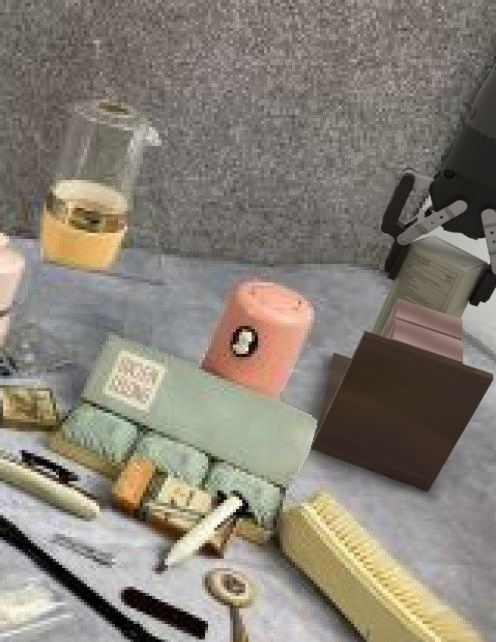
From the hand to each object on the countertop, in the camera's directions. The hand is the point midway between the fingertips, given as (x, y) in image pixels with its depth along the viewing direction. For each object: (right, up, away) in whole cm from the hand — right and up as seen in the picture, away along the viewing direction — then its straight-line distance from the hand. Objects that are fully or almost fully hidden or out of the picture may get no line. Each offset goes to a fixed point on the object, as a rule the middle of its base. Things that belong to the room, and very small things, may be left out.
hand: (431, 288), depth 91 cm
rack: (-4, -13, +3) cm, 14 cm away
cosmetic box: (-1, -7, +5) cm, 8 cm away
